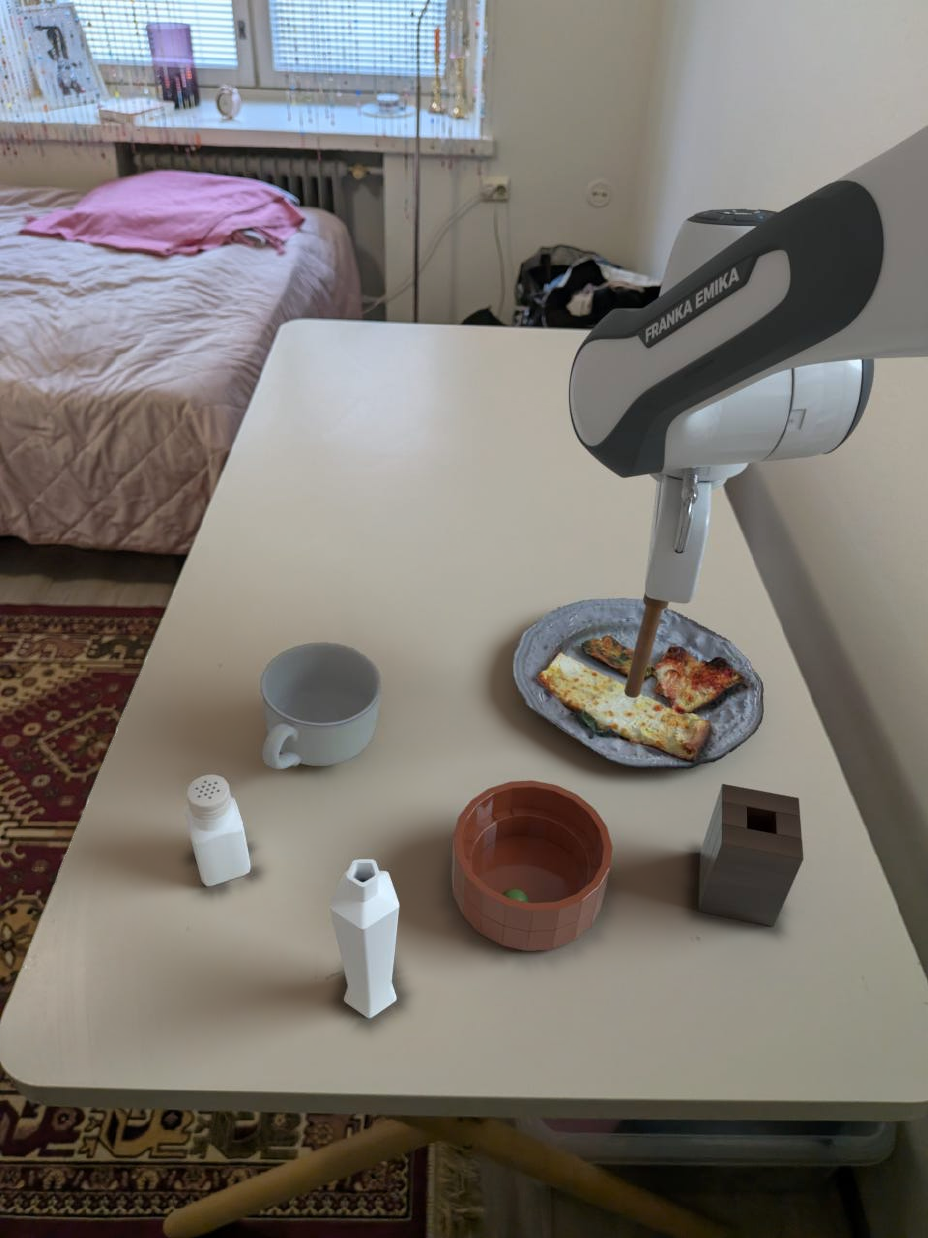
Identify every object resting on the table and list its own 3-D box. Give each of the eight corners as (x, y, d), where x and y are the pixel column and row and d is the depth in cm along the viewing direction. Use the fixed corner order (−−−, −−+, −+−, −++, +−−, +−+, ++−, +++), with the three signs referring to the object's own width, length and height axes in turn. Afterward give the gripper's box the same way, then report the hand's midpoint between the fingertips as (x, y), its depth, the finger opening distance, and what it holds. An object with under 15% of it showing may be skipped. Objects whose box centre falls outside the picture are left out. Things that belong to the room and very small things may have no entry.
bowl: (593, 970, 71) (603, 926, 67) (436, 935, 73) (437, 891, 69) (609, 841, 80) (618, 796, 77) (469, 813, 82) (472, 768, 78)
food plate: (799, 692, 96) (808, 667, 94) (679, 823, 82) (686, 797, 80) (602, 588, 108) (606, 564, 106) (469, 687, 95) (471, 661, 92)
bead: (519, 909, 71) (511, 931, 72) (538, 896, 73) (530, 918, 74) (496, 890, 72) (489, 911, 73) (516, 877, 74) (508, 899, 75)
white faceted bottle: (331, 974, 70) (318, 853, 60) (387, 957, 71) (383, 836, 62) (346, 1030, 67) (335, 912, 57) (405, 1011, 68) (403, 892, 58)
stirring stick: (642, 702, 87) (685, 546, 75) (619, 698, 87) (658, 541, 75) (644, 686, 88) (686, 531, 77) (621, 682, 89) (660, 526, 77)
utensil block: (773, 927, 74) (803, 859, 69) (698, 911, 75) (721, 843, 70) (771, 866, 79) (799, 797, 73) (700, 852, 80) (722, 783, 74)
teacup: (322, 685, 94) (317, 625, 89) (405, 733, 89) (405, 672, 84) (219, 767, 85) (206, 706, 80) (305, 825, 81) (298, 763, 75)
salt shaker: (194, 853, 78) (176, 778, 72) (241, 838, 79) (227, 764, 73) (204, 891, 75) (186, 817, 69) (253, 875, 76) (239, 800, 70)
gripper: (738, 511, 62) (697, 664, 71) (736, 381, 77) (703, 520, 86) (643, 497, 63) (614, 650, 71) (660, 372, 78) (635, 510, 87)
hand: (663, 578), depth 79 cm, fingers closed on stirring stick, 2 cm apart
